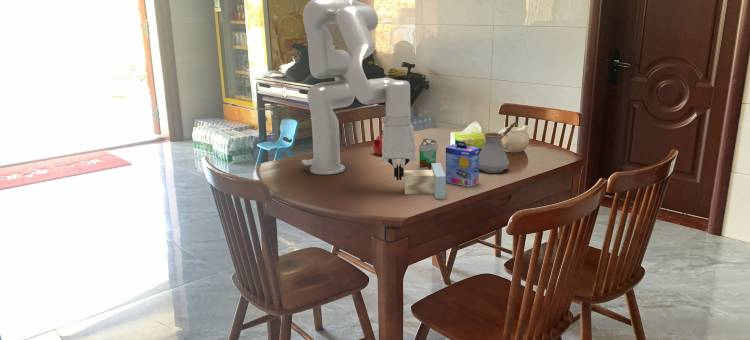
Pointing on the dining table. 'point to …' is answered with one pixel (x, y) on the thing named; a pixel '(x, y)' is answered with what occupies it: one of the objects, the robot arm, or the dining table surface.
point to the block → (419, 181)
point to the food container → (427, 153)
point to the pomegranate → (378, 146)
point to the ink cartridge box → (462, 164)
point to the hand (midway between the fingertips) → (398, 178)
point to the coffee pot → (494, 153)
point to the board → (439, 181)
